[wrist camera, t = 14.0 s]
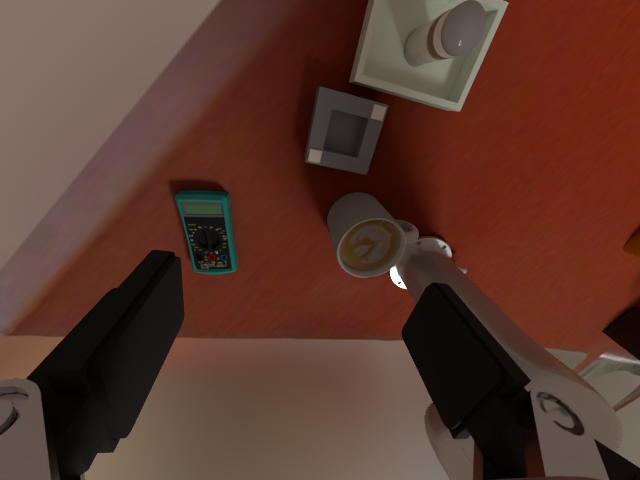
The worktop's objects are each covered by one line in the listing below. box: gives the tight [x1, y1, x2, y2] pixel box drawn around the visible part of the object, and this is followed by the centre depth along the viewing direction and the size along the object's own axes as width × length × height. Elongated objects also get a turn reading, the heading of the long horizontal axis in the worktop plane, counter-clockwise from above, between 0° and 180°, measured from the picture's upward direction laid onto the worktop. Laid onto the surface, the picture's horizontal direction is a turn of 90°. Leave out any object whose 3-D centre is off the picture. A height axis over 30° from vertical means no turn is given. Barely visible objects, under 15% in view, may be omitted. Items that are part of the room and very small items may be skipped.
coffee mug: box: [327, 192, 419, 278], centre depth 38 cm, size 13×10×10 cm
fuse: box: [404, 0, 486, 67], centre depth 26 cm, size 4×4×9 cm
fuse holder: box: [304, 86, 389, 175], centre depth 33 cm, size 9×9×4 cm
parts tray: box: [349, 0, 508, 112], centre depth 29 cm, size 15×11×3 cm
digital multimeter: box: [175, 190, 238, 274], centre depth 39 cm, size 7×15×3 cm, turn 176°
